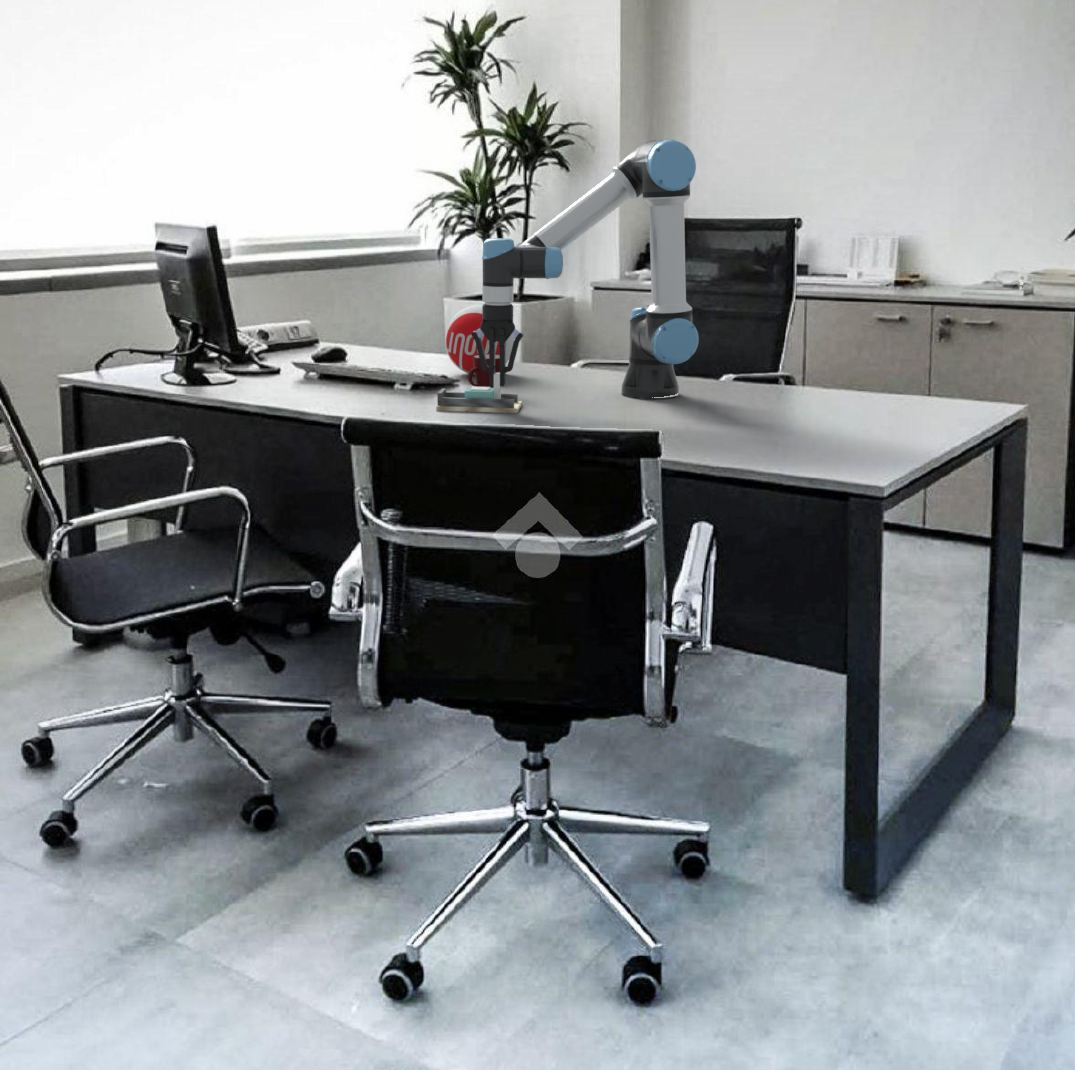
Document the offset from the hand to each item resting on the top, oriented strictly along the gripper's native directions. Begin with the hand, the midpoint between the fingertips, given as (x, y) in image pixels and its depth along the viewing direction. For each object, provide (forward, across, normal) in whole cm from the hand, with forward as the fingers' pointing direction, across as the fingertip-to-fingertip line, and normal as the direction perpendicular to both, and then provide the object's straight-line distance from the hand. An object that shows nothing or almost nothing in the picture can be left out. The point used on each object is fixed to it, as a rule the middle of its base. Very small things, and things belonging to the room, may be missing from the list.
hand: (497, 399), depth 327 cm
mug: (+3, +5, -19) cm, 20 cm away
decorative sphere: (+2, +11, -52) cm, 53 cm away
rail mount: (+2, +4, 0) cm, 5 cm away
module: (+1, +4, 0) cm, 4 cm away
